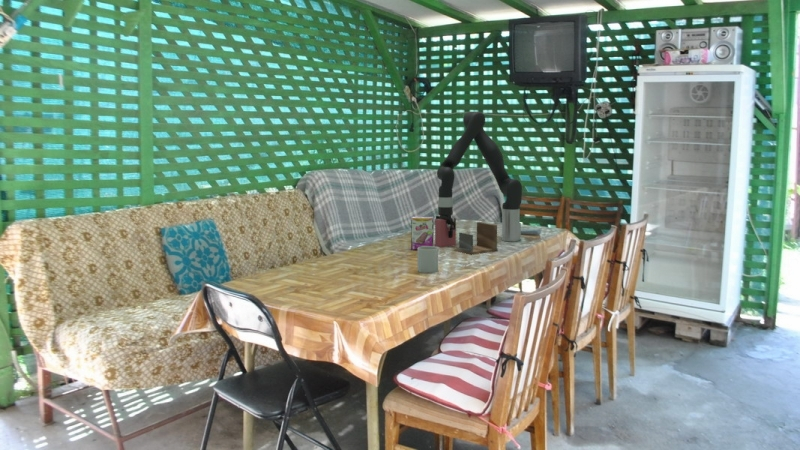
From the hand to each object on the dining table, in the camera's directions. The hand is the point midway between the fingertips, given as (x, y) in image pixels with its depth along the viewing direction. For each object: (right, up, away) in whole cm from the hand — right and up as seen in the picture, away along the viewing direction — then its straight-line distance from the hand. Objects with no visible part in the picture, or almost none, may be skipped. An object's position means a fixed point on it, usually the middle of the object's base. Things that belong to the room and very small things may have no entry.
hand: (445, 236), depth 348 cm
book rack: (+14, -7, -15) cm, 22 cm away
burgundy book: (0, -5, +1) cm, 5 cm away
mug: (-11, -14, -59) cm, 62 cm away
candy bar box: (-12, -6, -10) cm, 17 cm away
